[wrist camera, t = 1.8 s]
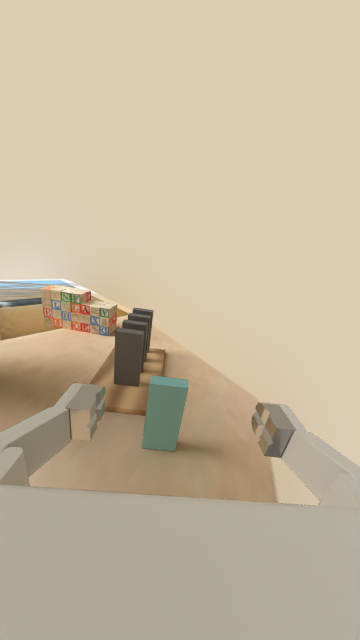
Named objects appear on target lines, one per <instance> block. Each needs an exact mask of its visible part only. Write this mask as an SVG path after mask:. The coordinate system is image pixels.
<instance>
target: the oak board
mask: <svg viewBox="0 0 360 640" xmlns="http://www.w3.org/2000/svg"><path fill="white" fill-rule="evenodd" d="M164 354H165V350H161V349H153V348H149V352H148V353H147V359H146V362H144V369H143V372H142V373H140V382H139V386H138V387H134V386H126V385H117V384H114V359H115V347H114V349H113V350H112V352H111V353H110V355H109V356H108V358H107V359H106V361H105V362H104V363H103V365H102V366H101V368H100V369H99V371H98V372H97V374H96V375H95V377H94V378H93V380H92V381H91V383H90V384H91V385H98V386H104V387H105V395H104V399H105V408H104V411H111V412H121V413H130V414H140V415H146V408H147V400H148V391H149V383H150V379H151V376H159V377H162V369H163V362H164Z"/></svg>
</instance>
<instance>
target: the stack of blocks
mask: <svg viewBox="0 0 360 640" xmlns="http://www.w3.org/2000/svg"><path fill="white" fill-rule="evenodd" d="M40 290H41V296H42V306H43V312H44V321H45V325H49V326H54V327H59V328H65V329H70V330H77V331H83V332H89V333H95V334H100V335H106V336H109V335H110V334H111V333H112V332H113V331H115V330H116V321H117V304H114V303H108V302H102V301H96V300H91V291H89V290H82V289H77V288H70V287H63V286H58V285H54V286H49V287H44V288H40Z"/></svg>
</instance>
